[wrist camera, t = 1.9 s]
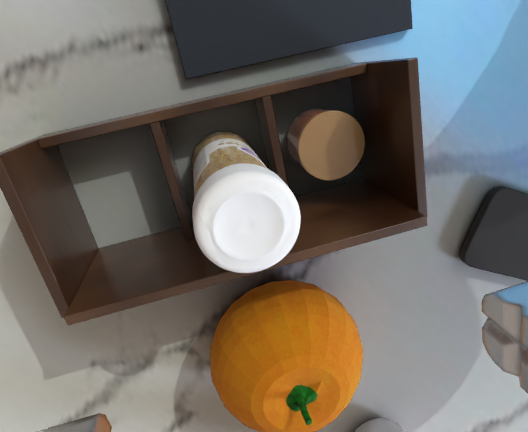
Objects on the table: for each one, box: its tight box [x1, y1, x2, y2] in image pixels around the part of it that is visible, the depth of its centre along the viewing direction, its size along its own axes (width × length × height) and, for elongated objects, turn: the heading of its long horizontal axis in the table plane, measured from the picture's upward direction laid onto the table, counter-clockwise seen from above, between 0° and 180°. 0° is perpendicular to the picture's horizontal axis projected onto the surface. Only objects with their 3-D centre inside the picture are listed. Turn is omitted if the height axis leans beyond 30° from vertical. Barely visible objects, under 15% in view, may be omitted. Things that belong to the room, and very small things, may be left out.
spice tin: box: [287, 108, 365, 181], centre depth 28 cm, size 5×5×4 cm
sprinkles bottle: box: [192, 132, 301, 273], centre depth 22 cm, size 5×4×14 cm
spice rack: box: [0, 58, 427, 325], centre depth 25 cm, size 22×9×9 cm, turn 102°
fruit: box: [210, 280, 363, 432], centre depth 30 cm, size 12×12×10 cm
